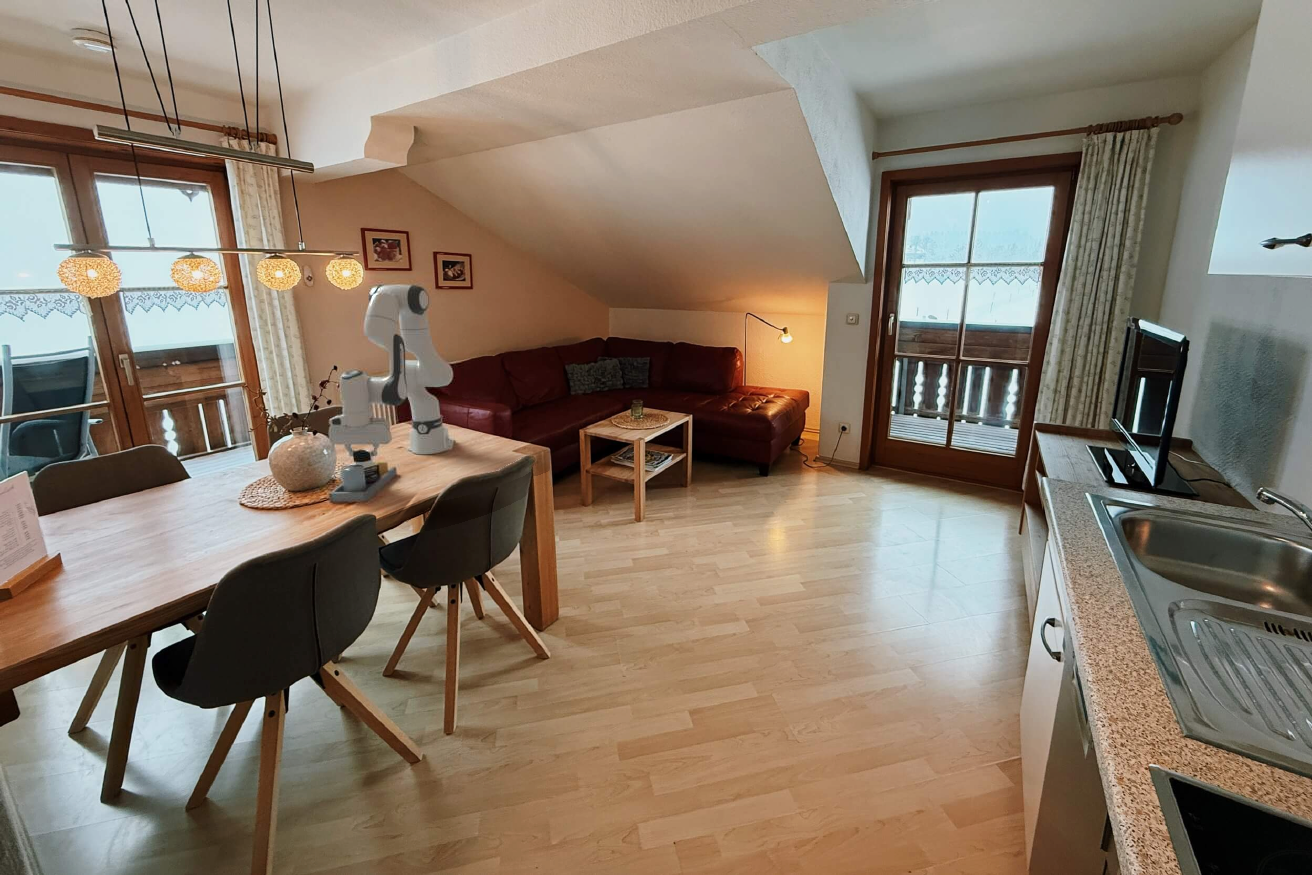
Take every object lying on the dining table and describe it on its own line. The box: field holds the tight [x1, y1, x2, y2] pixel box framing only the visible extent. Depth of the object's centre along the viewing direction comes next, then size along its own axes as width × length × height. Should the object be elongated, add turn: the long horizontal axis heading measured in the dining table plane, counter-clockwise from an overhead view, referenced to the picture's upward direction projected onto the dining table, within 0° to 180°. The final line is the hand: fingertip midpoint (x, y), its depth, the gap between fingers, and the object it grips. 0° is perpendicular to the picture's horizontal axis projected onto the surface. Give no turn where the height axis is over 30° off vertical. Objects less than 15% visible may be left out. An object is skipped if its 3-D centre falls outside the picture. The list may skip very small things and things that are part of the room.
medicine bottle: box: [349, 448, 380, 486], centre depth 204 cm, size 7×7×12 cm
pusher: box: [375, 461, 389, 478], centre depth 212 cm, size 1×9×6 cm, turn 93°
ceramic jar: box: [340, 464, 367, 492], centre depth 196 cm, size 7×7×10 cm
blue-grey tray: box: [328, 466, 398, 503], centre depth 204 cm, size 26×12×4 cm, turn 3°
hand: (363, 455), depth 203 cm, fingers closed on medicine bottle, 6 cm apart
